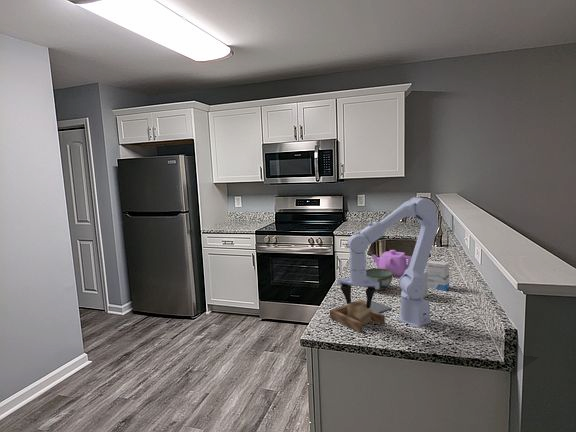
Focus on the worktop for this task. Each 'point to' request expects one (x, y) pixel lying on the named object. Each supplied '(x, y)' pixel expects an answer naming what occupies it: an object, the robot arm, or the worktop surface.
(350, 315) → the gripped blank
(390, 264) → the teakettle
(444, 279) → the ink box
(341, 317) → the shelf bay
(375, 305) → the mat
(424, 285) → the small box
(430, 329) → the worktop surface
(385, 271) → the bowl
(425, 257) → the robot arm
